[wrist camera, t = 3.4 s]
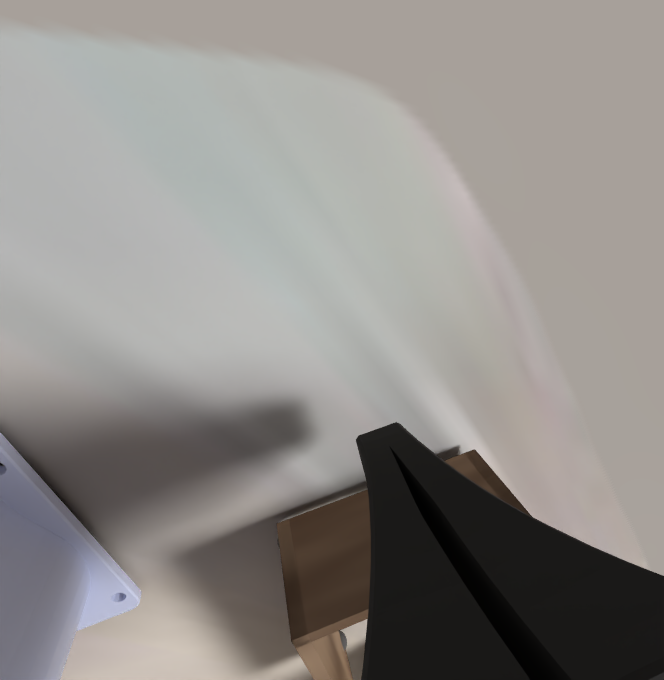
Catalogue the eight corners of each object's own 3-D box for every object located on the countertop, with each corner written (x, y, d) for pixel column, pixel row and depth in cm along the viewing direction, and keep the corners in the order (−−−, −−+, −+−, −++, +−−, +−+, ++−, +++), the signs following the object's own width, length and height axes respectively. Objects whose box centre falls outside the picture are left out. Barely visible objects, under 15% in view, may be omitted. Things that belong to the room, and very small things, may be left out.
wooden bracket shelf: (269, 518, 14) (283, 644, 11) (475, 441, 16) (554, 531, 12) (329, 643, 20) (353, 758, 16) (480, 580, 21) (536, 673, 17)
